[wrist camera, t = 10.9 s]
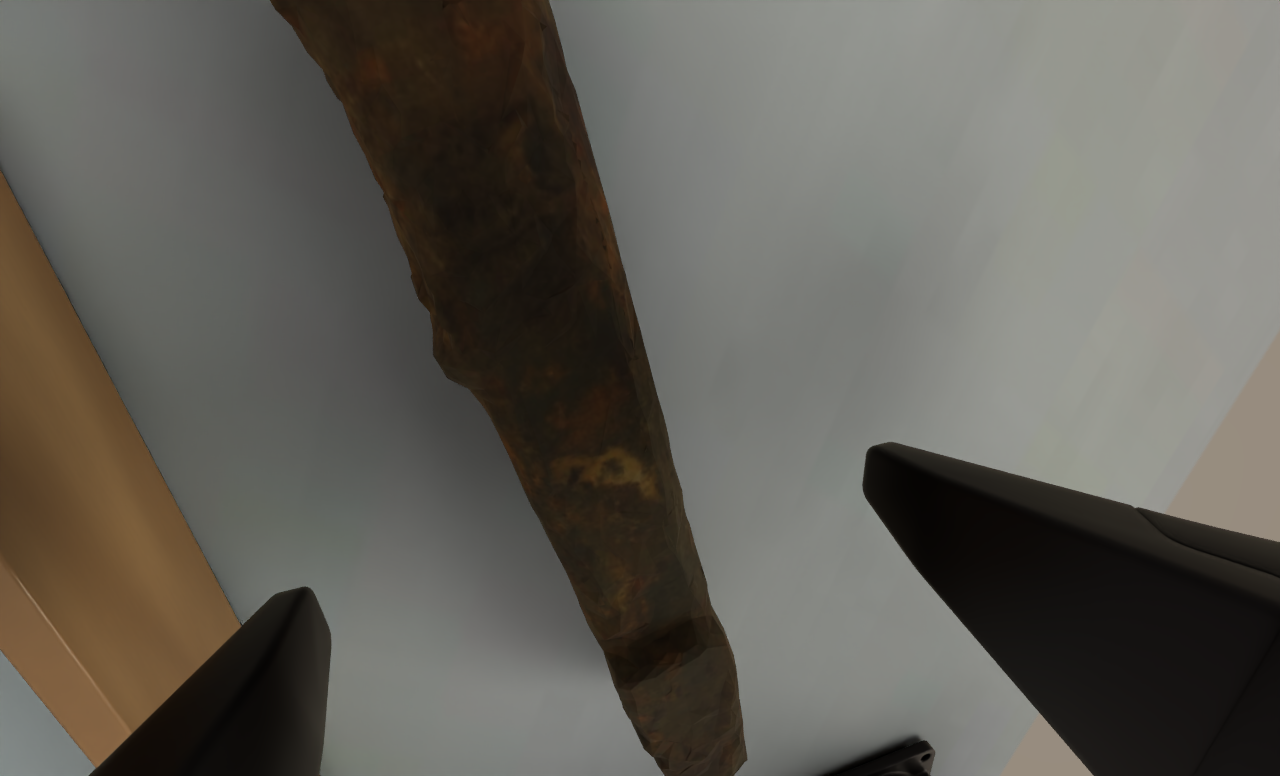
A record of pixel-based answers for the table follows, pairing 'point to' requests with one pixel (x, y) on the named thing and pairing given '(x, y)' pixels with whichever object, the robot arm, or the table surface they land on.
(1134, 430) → the table surface
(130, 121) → the table surface
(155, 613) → the wooden rectangular frame
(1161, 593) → the robot arm
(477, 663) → the table surface
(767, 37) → the table surface
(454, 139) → the dark brown long piece
